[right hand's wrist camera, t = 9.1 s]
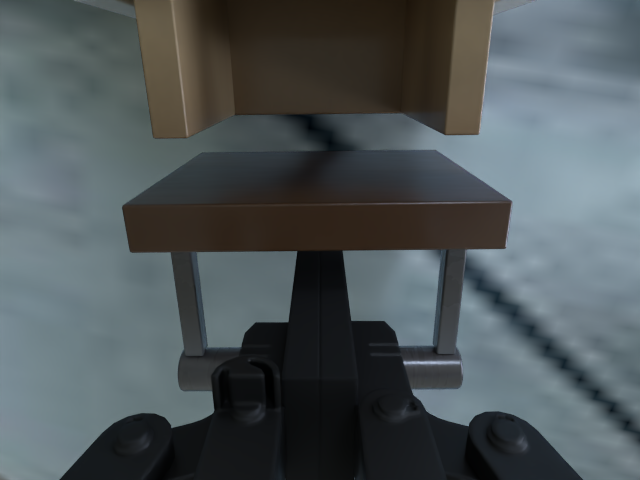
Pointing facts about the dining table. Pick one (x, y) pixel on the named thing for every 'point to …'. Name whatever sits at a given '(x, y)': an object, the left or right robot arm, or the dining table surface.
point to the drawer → (317, 166)
